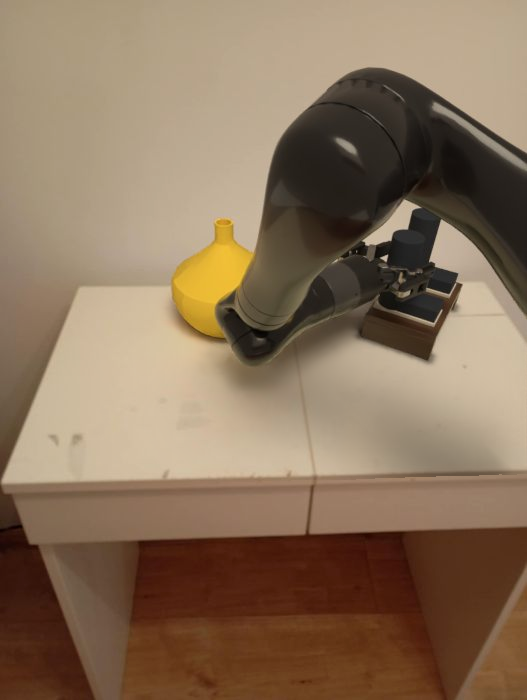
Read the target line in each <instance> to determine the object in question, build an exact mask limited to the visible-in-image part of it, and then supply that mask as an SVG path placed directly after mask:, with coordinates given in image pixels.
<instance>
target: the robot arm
mask: <svg viewBox="0 0 527 700" xmlns="http://www.w3.org/2000/svg"><path fill="white" fill-rule="evenodd" d="M268 168H269V169H268V172H267V178H266V183H265V190H264V196H263V204H262V212H261V218H260V223H259V229H258V233H257V239H256V243H255V247H254V250H253V252H252V253H253V256H252V258H251V260H250V262H249V264H248V267H247V269H246V271H245V273H244V275H243V277H242V280H241V282H240V284H239V285H238V286H237V287H236V288H235V289H234V290H232V291H230V292H228V293H227V294H225V295H224V296H223V297H221V298H220V299H219V300H218V301H217V303H216V305H215V310H214V313H215V318H216V321H217V324H218V325H219V327H220V329H221V331H222V332H223V334H224V336H225V338H224V339H225V340H226V342H227V343H228V345H229V347H230V348H231V350H232V352H233V353H234V355H235V358H236V359H237V360H238V362H240V363H241V365H244V366H245V367H249V368H259V367H262V366H265V365H267V364H268V363H270V362H272V361H273V360H274V359H275V358H276V357H277V356H278V355H280V353H281V352H282V351H283V350H284V349H286V347H288V345H289V344H291V342H292V341H294V340H295V339H296V338H297V337H298V336H300V335H301V334H303V333H304V332H306V331H307V330H309V329H311V328H313V327H315V326H317V325H319V324H321V323H324V322H325V321H328V320H330V319H333V318H337V317H340V316H343V315H345V314H347V313H348V312H351V311H353V310H356V309H357V308H360V307H361V306H363V305H365V304H368V303H370V302H372V301H373V300H375V298H377V297H378V296H379V294H380V293H381V292H388V291H391V292H393V293H394V294H396V295H397V296H396V301H398V302H403V301H405V300H408V299H410V298H413V297H415V296H417V295H420V294H422V293H424V292H426V289H427V285H428V282H429V279H430V277H432V276H433V274H434V271H435V268H436V267H437V266H436V263H435V262H433V261H429V263H426V264H424V265H422V266H420V267H418V268H407V267H406V266H405V265H392V264H390V263H387V261H386V260H384V259H383V257H386V256H388V253H389V248H390V244H391V240H387V241H383V242H380V243H377V244H373V243H371V244H369V245H367V244H366V242H365V241H364V240H365V239H367V238H369V236H371V235H372V234H374V232H376V231H377V230H379V229H380V228H381V227H382V226H384V224H386V223H387V222H388V221H389V220H390V219H391V218H392V217H393V215H394V214H395V212H396V211H397V210H398V209H399V207H400V206H401V205H402V204H403V202H404V201H407V202H409V203H411V204H413V205H415V206H417V207H418V208H423V209H425V210H427V211H429V212H430V213H432V214H433V215H435V216H437V217H438V218H440V219H441V221H443V222H445V223H447V224H448V225H450V226H452V228H454V229H455V230H456V231H458V232H460V233H461V234H462V235H463V236H464V237H465V238H466V239H468V241H470V242H471V243H472V244H473V246H474V247H475V248H476V249H477V250H478V251H479V252H480V254H481V255H483V257H484V259H485V260H486V261H487V264H489V266H490V267H491V268H492V271H493V272H494V274H495V275H496V276H497V278H498V280H499V281H500V282H501V284H502V286H503V287H504V289H505V290H506V291H507V293H508V295H509V296H510V298H511V299H512V301H513V302H514V304H515V305H516V307H518V309H519V310H520V312H521V313H522V315H523V316H524V317H525V318H526V320H527V152H526V151H524V150H523V149H521V148H519V147H517V146H516V145H514V144H513V143H512V142H510V141H508V140H506V139H505V138H503V137H502V136H501V135H498V134H497V133H495V132H494V131H492V130H491V129H490V128H488V127H487V126H485V125H484V124H483V123H481V122H480V121H478V120H476V119H475V118H474V117H473V116H471V115H469V114H468V113H466V111H463V110H462V109H461V108H459V107H457V106H456V105H455V104H453V103H451V102H450V101H449V100H447V99H446V98H445V97H443V96H441V95H440V94H438V93H437V92H436V91H434V90H432V89H430V88H428V87H427V86H426V85H424V84H422V83H421V82H419V81H418V80H416V79H414V78H412V77H410V76H408V75H406V74H403V73H401V72H398V71H395V70H392V69H389V68H386V67H375V66H373V67H372V66H367V67H363V68H362V67H361V68H359V69H355V70H353V71H350V72H348V73H346V74H344V75H343V76H341V77H340V78H338V79H337V80H336V81H334V82H333V83H332V84H331V85H329V87H327V89H326V90H325V91H324V92H323V93H322V94H320V95H319V96H318V97H317V98H316V99H315V100H314V101H313V102H311V104H309V106H308V107H306V108H305V109H304V110H303V111H302V112H301V113H300V114H299V115H298V116H297V117H296V118H295V119H294V120H293V121H292V122H291V123H290V124H289V125H288V126H287V127H286V129H284V131H283V132H282V134H281V136H280V137H279V139H278V141H277V142H276V145H275V147H274V149H273V152H272V157H271V160H270V164H269V167H268ZM396 272H400V276H399V280H398V281H395V276H396ZM408 275H413V278H412V279H406V278H407V276H408Z"/></svg>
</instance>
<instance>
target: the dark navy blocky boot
mask: <svg viewBox="0 0 527 700" xmlns="http://www.w3.org/2000/svg"><path fill="white" fill-rule="evenodd" d="M390 241H391V244H390V248H389V253H388V255H387V258H386V262H387V263H390V264H392V265H405V266H406V267H407V268H418V264H419V260H420V257H421V253H422V249H423V246H424V242H425V237H424V235H422V234H421V233H419V232H417V231H413V230H408V228H407V229H405V228H403V229H402V228H401V229H397V230H395V231H393V233H392V235H391V240H390ZM399 276H400V272H396V276H395V281H398V280H399ZM412 278H413V275H408V276H407V278H406V279H412ZM378 296H379V298H378V297H377V298H378V299H377V298H376V299H377V300H376V299H375V300H376V302H375V301H374V302H375V303H374V302H373V303H374V304H373V303H372V304H373V307H374V308H377V309H380V310H383V311H386V312H389V313H392V314H395V315H398V316H401V317H404V318H407V319H410V320H413V321H416V322H419V323H422V324H425V325H428V326H432V327H434V326H435V324H436V322H437V320H438V318H439V317H440V315H441V313H442V306H443V303H444V299H441V298H438V297H434V296H431V295H428V294H425V293H422V294H420V295H417V296H415V297H413V298H410V299H408V300H405V301H403V302H398V301H396V296H397V295H396V294H394V293H393V292H391V291H388V292H381V293H380V294H378Z"/></svg>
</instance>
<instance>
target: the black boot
mask: <svg viewBox="0 0 527 700" xmlns="http://www.w3.org/2000/svg"><path fill="white" fill-rule="evenodd" d="M441 221H442V219H440V218H438V217H437V216H435V215H433V214H432V213H430V212H429V211H427V210H425V209H423V208H421V207H418V208H417V207H416V208H415V209H412V211H411V214H410V217H409V223H408V227H407V229H408V230H413V231H417V232H419V233H421V234H422V235H424V237H425V242H424V246H423V249H422V253H421V257H420V260H419V264H418V267H420V266H422V265H424V264H426V263H429V262H430V259H431V256H432V253H433V250H434V246H435V242H436V239H437V236H438V232H439V228H440V225H441ZM435 267H436V268H435V271H434V274H433V276H432V277H430V279H429V282H428V285H427V289H426V292H429V293H433V294H436V295H439V296H443V297H446V298H450V296H451V294H452V292H453V290H454V288H455V286H456V282H457V280H458V277H459V274H460V273H459V272H455V271H452V270H448V269H444V268H441V267H437V266H435Z"/></svg>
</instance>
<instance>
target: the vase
mask: <svg viewBox="0 0 527 700" xmlns="http://www.w3.org/2000/svg"><path fill="white" fill-rule="evenodd" d="M213 222H214V223H213V225H214V240H213V241H212V242H211V243H210V244H209V245H207V246H206V247H204V248H202V249H201V250H200V251H198V252H197V253H195V254H193V255H191V256H189V257H188V258H186V259H185V260H183V261H182V262H181V263H180V264H179V265H177V266H176V269H175V270H174V273H173V275H172V278H171V283H170V287H171V288H170V290H171V297H172V301H173V303H174V305H175V307H176V309H177V310H178V311H179V314H180V315H181V316H182V318H183V319H184V320H185V321H186V322H187V323H188V324H189V325H190V326H191V327H193V328H194V329H195V330H197V331H198V332H201V333H202V334H204V335H205V336H206V335H207V336H210V337H212V338H220V339H226V338H225V336H224V334H223V332H222V331H221V329H220V327H219V325H218V324H217V321H216V318H215V313H214V310H215V305H216V303H217V301H218V300H219V299H220V298H221V297H223V296H224V295H225V294H227V293H228V292H230V291H232V290H234V289H235V288H236V287H237V286H238V285H239V284H240V282H241V280H242V277H243V275H244V273H245V271H246V269H247V267H248V264H249V262H250V260H251V258H252V256H253V253H254V252H253V251H250V250H249V249H247V248H246V247H244V246H242V245H241V244H239V243H238V242H237V240H235V236H234V221H233V220H232V219H230V218H226V217H225V218H224V217H222V218H218V219H215V220H214V221H213Z"/></svg>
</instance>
